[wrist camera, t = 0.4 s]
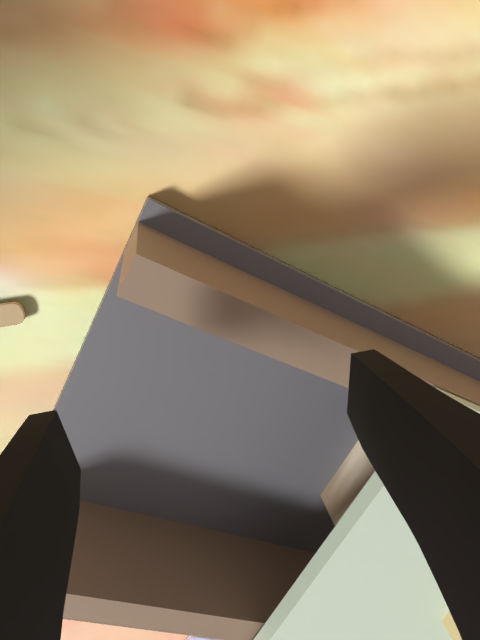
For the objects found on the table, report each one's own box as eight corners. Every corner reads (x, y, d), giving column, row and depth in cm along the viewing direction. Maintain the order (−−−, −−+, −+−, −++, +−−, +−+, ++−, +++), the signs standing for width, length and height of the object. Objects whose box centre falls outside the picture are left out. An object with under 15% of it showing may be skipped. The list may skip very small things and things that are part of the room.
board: (490, 607, 37) (551, 692, 31) (10, 507, 23) (-31, 623, 18) (644, 439, 32) (748, 504, 26) (148, 195, 19) (149, 223, 13)
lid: (410, 669, 26) (439, 728, 23) (246, 649, 22) (260, 717, 19) (598, 458, 21) (659, 502, 19) (435, 387, 17) (484, 430, 15)
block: (377, 511, 28) (423, 586, 23) (320, 495, 26) (356, 571, 22) (418, 457, 27) (474, 524, 22) (360, 436, 25) (408, 504, 20)
